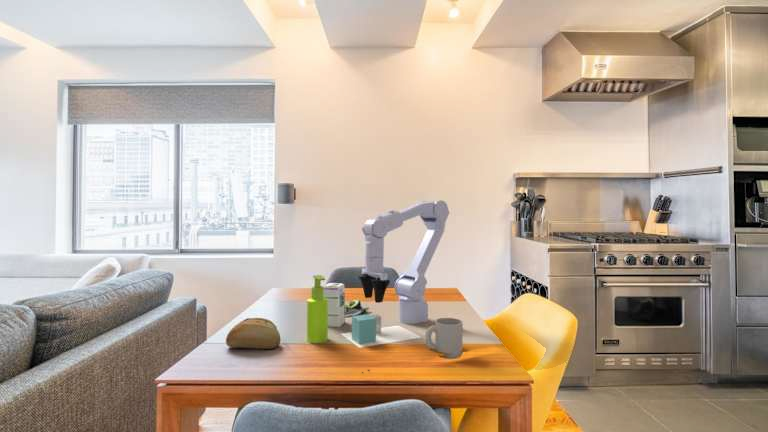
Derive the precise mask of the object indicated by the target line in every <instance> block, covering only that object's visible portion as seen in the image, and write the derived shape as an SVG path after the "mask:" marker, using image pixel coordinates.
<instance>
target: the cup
mask: <svg viewBox="0 0 768 432" xmlns="http://www.w3.org/2000/svg"><path fill="white" fill-rule="evenodd" d="M463 323H464V322H463V320H461V319H458V318H452V317H440V318H437V319H435V324H432V325H430V326H428V328H427V330H426V331H425V336H424V338H425V344H426V347H428V349H429V350H431V351H432V350H434V351H437V352H440V353H443V355H438V357H439V358H442V359H448V360H450V359H451V360H453V359H459V358H461V357H462V355H463V336H464V335H463V329H464V328H463ZM433 332H435V333H434V335H435V338H434V339H435V340H434V342H435V343H433V341H432V336H433V335H432V334H433Z"/></svg>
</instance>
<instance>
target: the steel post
mask: <svg viewBox="0 0 768 432" xmlns="http://www.w3.org/2000/svg"><path fill="white" fill-rule="evenodd" d="M369 315H370V316H372V317H374V318H376V334H377V333H381V328H382V316H381V315H379V314H373V315H372V314H369Z"/></svg>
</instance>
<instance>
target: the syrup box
mask: <svg viewBox="0 0 768 432" xmlns="http://www.w3.org/2000/svg"><path fill="white" fill-rule="evenodd" d="M322 287H323V288H324V295H323V298H327V299H328V327H337V328H339V327H341V326H342V325H344V324H345V323H346V318H345V305H346V301H345V300H346V298H345V295H346V294H345V293H346V291H345V290H346V289H345V283H341V282H339V283H338V282H329V283H327V284H325V285H323V286H322Z"/></svg>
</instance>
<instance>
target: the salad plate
mask: <svg viewBox="0 0 768 432" xmlns="http://www.w3.org/2000/svg"><path fill="white" fill-rule="evenodd" d="M368 310H370V307H365V306H362V304H361V301H360V299H353V300H350V301H349V302H348V303H347V304H345V319H347V318H352V316H359V315H362V314H363V313H364V312H366V311H368ZM361 313H362V314H361Z"/></svg>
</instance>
